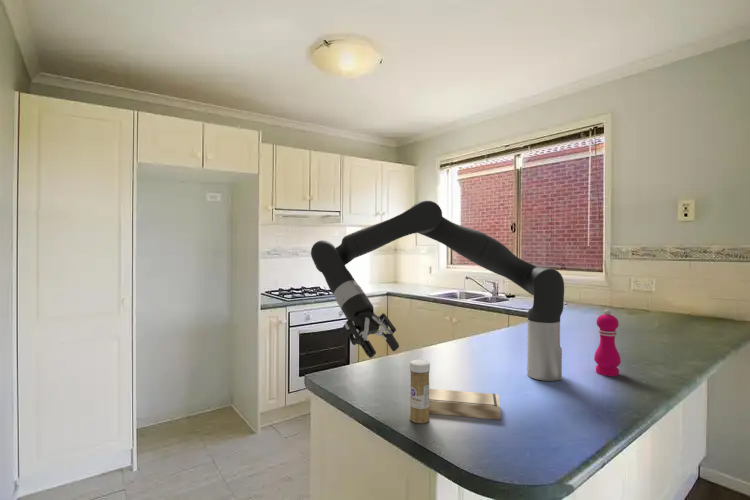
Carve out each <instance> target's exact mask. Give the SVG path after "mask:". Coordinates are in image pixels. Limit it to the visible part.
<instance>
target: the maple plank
mask: <svg viewBox="0 0 750 500" xmlns="http://www.w3.org/2000/svg"><path fill="white" fill-rule="evenodd" d="M499 397H500V396H499V393H485V392H474V391H460V390H451V389H449V390H447V389H437V388H429V414H435V415H446V416H456V417H464V418H465V417H467V418H468V417H469V418H477V419H478V418H479V419H485V420H486V419H487V420H499V421H500V420H501V404H500V398H499Z"/></svg>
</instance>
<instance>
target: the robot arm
mask: <svg viewBox="0 0 750 500" xmlns="http://www.w3.org/2000/svg"><path fill="white" fill-rule="evenodd" d="M412 234H419V235H422V236H424V237H427V238H429V239H432V240H434V241H436V242H439V243H440V244H442V245H444V246H446V247H447V248H448V249H451V250H452V251H453V252H455V253H456V254H459V255H460V256H462V257H464V258H465V259H467V260H468V261H470V262H472V263H474V264H475V265H478V266H479V267H481V268H483V269H485V270H488V271H490V272H492V273H494V274H496V275H498V276H501V277H504V278H506V279H508V280H509V281H511V282H513V283H514V284H515V285H517V286H518V287H520V288H521V289H523V290H524V291H526V292H527V293H528V294H529V295H531V296H533V303H532V304H533V305H532V307H531V308H530V309H528V310H527V353H526V354H527V355H526V357H527V361H526V362H527V363H526V365H527V367H526V370H527V373H526V375H527V376H528V377H530V378H532V379H535V380H538V381H539V380H540V381H546V382H554V381H562V380H563V378H562V377H563V365H562V364H563V349H562V347H561V316H562V314H563V312H564V302H565V301H564V300H565V282H564V277H563V276H562V274H561V273H560V272H559V271H558V270H556V269H554V268H549V267H543V266H542V267H541V266H538V265H537V266H536V265H535V264H532V263H529V262H528V261H525V260H523V259H521V258H519V257H518V256H517V255H515V254H514V253H513V252H512V251H511V250H510V249H509V248H507V246H506V245H505V244H503V243H501V242H500V241H499V240H497V239H495V238H494V237H491V236H490V235H488V234H487V233H484V232H482V231H480V230H476V229H474V228H470V227H467V226H463V225H460V224H457V223H455V222H452V221H450V220H448V219H447V218H446V217H444V216H443V210H442V208H441V207H440V205H439V204H437V203H436V202H435V201H432V200H428V199H424V200H420V201H418V202H416V203H415V204H413V205H412V206H411V207H409V209H406V210H405V211H403V212H402V213H400V214H397V215H395V216H393V217H392V218H389V219H386V220H384V221H381V222H378V223H375V224H373V225H370V226H367V227H364V228H361V229H359V230H357V231H353V232H352V233H349V234H347V235H345V236H344V237H343V238H342V240H341V243H340V244H339V245H337V246H335V245H334V244H333V243H331V242H330V241H328V240H325V239H324V240H323V239H322V240H319V241H317V242H315V243H313V245H312V246H311V251H310V255H311V259H312V261H313V263H314V264H313V265H314V266H315V268H316V269H317V270H318V272H320V273H321V274H322V275H323V277H324V279H325V282H326V284H327V287H328V288H329V289H330V291H331V293H332V294H333V297H334V298H335V301H336V303H337V305H338V306H339V308H340V310H341V312H342V313H343V314H344V316H345V318H346V322H345V323H344V324H343V325H342V328H343V329H344V331H345V333H346V335H347V337H348V339H349V341H350V342H351V344H352V345H353V346H356V345H359V346H360V347H361V348H362V349H363V351H364V353H365V355H366V356H367V357H368V358H369V359H372V358H374V356H375V355H376V353H377V351H376V350H375V348H374V346H373V344H372V343H371V341H370V340H368V336H370V335H376V336H378V337H382V338H383V339H385V342H386V343H387V344H388V346H389V348H390V349H391V351H392V352H395V351H397V350H398V349H399V348H400V344H399V343H398V340H396V338H395V336H394V333H395V332H396V331H397V328H396V327H395V326H394V324H392V322H391V320H390V319H389V318H388V316H387V315H386V313H383V312H382V313H381V315H376V313H375V312H374V311H375V310H374V309H375V308H374V305H373V304H372V302H371V301H370V299H369V297H368V296H367V294H366V293H365V291H364V290H363V289H362V287H361V286H360V285H359V284H358V282H357V281H356V280H355V278H354V277H353V275H352V274H351V272H350V271H349V270H348V268H347V266H346V265H348V264H349V263H351V262H352V260H354V259H356V258H359V257H362V256H364V255H366V254H369V253H371V252H373V251H375V250H378V249H380V248H382V247H384V246H386V245H388V244H390V243H391V242H394V241H396V240H399V239H401V238H403V237H407V236H409V235H412Z"/></svg>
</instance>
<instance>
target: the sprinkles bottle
mask: <svg viewBox="0 0 750 500" xmlns="http://www.w3.org/2000/svg"><path fill="white" fill-rule="evenodd" d="M409 370H410V371H409V372H410V391H409V396H410V397H409V398H410V399H409V402H410V404H409V405H410V410H409V411H410V413H409V414H410V416H409V420H410V421H411V422H412V423H416V424H426V423H428V422H429V421H430V413H429V389H430V371H431V363H430V361H428V360H425V359H413V360H411V361H410V362H409Z"/></svg>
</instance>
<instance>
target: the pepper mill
mask: <svg viewBox="0 0 750 500" xmlns="http://www.w3.org/2000/svg"><path fill="white" fill-rule="evenodd" d="M611 313H612V312H611V310H610V309H605V310H604V314H601V315H599V316H598V317H597V318H596V325H597V327H598V328H599V329H598V335H599V338H600V339H599V345H598V347H597V349H596V350H595V352H594V356H593V360H594V362H595V363H596V366H595V372H596V373H597V374H598V375H601V376H606V377H618V376H619V375H620V368H618V367H619V366H620V365H621V363H622V361H621V360H622V359H621V355H620V353H619V352H618V349H617V346H616V340H615V338H616V336H617V335H618V334H617V329H618V327H620V326H619V325H620V324H619V320H618V318H617V317H616V316H615V315H612V314H611Z"/></svg>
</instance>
